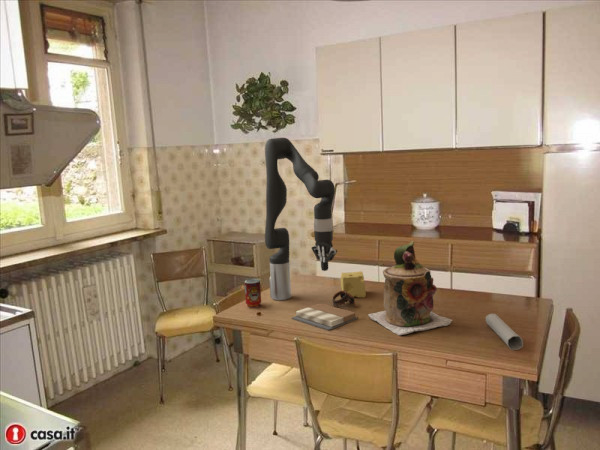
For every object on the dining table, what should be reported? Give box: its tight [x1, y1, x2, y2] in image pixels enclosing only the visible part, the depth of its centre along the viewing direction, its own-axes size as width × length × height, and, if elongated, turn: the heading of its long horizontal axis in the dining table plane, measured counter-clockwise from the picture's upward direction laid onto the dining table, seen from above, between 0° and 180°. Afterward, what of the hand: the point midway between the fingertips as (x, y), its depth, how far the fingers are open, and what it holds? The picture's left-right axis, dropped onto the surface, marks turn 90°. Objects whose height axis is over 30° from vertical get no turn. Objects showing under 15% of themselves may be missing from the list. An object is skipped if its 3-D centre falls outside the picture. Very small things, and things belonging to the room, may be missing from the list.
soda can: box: [244, 277, 262, 309], centre depth 226 cm, size 7×7×12 cm
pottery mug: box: [331, 290, 357, 308], centre depth 220 cm, size 12×10×8 cm
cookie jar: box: [367, 240, 453, 336], centre depth 195 cm, size 25×25×32 cm
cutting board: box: [291, 302, 358, 332], centre depth 205 cm, size 21×17×3 cm
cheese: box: [340, 271, 366, 298], centre depth 235 cm, size 10×11×10 cm
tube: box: [485, 313, 524, 351], centre depth 179 cm, size 5×5×25 cm
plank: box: [295, 307, 343, 327], centre depth 203 cm, size 20×7×2 cm, turn 44°
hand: (324, 270), depth 206 cm, fingers closed
